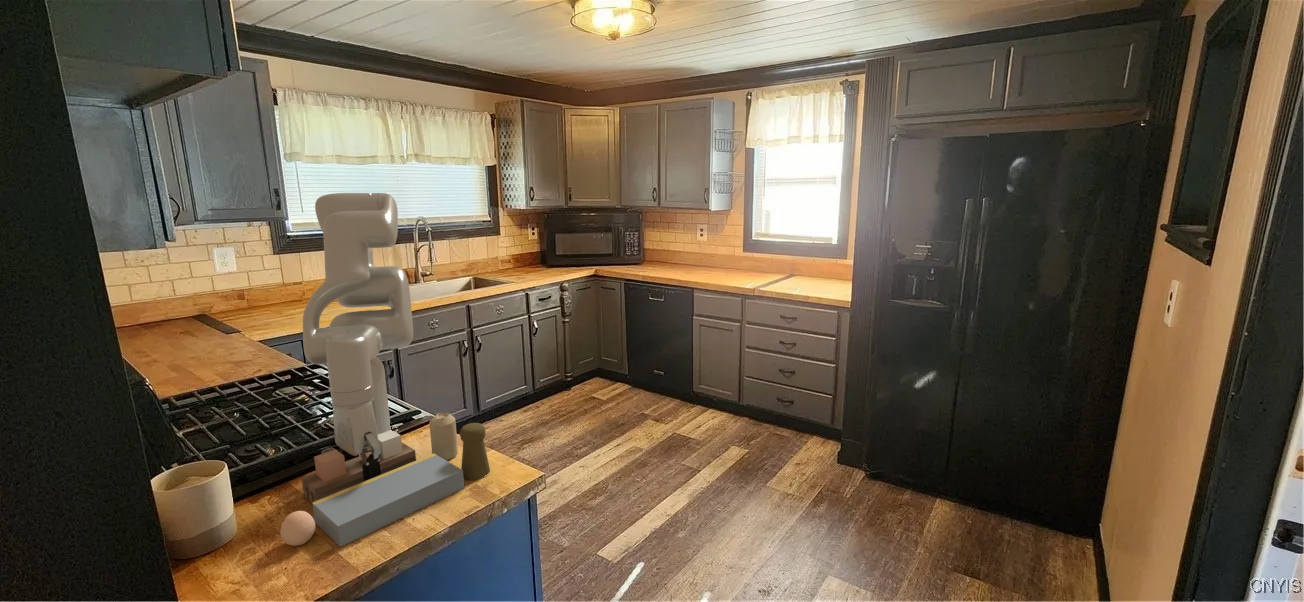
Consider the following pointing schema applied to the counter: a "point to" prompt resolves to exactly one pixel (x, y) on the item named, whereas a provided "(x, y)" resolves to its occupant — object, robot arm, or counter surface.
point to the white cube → (389, 444)
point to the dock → (386, 498)
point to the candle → (443, 436)
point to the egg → (297, 528)
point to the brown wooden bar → (352, 475)
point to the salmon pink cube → (330, 465)
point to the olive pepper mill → (474, 452)
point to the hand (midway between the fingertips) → (361, 473)
